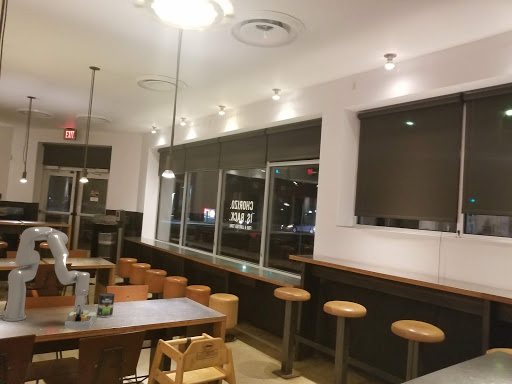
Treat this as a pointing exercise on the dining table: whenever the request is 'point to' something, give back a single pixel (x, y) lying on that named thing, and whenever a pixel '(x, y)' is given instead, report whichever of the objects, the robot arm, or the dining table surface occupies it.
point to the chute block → (83, 317)
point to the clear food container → (85, 313)
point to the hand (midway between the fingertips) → (78, 321)
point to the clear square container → (79, 323)
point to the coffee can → (105, 305)
